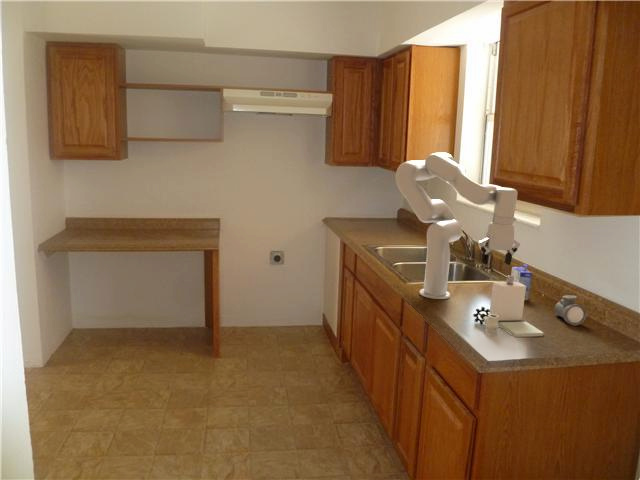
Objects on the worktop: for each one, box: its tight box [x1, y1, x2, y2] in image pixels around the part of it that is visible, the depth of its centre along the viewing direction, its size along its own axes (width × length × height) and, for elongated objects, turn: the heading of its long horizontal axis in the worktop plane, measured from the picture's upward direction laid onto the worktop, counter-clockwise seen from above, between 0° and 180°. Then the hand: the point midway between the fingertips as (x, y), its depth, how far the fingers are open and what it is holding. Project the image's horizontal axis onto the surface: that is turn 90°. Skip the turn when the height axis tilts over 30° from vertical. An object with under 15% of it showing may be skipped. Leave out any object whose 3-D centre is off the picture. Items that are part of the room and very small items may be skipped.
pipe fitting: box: [553, 294, 587, 327], centre depth 213 cm, size 12×8×10 cm, turn 3°
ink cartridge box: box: [510, 263, 533, 301], centre depth 239 cm, size 10×6×14 cm, turn 2°
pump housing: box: [488, 274, 526, 324], centre depth 208 cm, size 8×11×17 cm
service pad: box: [498, 321, 545, 338], centre depth 199 cm, size 11×11×1 cm
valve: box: [472, 306, 500, 336], centre depth 198 cm, size 7×7×12 cm
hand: (496, 263), depth 216 cm, fingers open, 9 cm apart
